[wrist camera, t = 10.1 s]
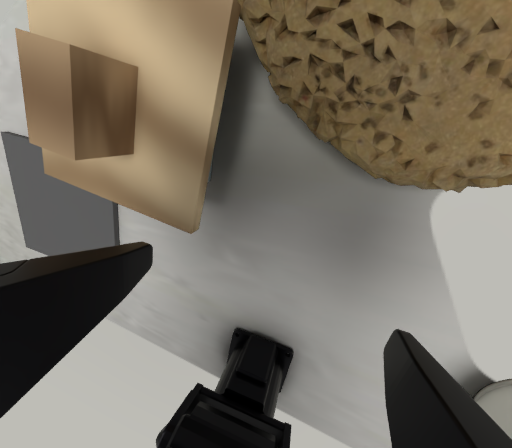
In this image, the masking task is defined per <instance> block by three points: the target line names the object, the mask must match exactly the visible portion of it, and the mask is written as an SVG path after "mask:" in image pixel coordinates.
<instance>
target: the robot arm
mask: <svg viewBox="0 0 512 448" xmlns="http://www.w3.org/2000/svg"><path fill="white" fill-rule="evenodd" d="M152 261H153V247H152V245H150V244H148V243H145V242H136V243H130V244H124V245H117V246H111V247H104V248H98V249H92V250H85V251H79V252H73V253H66V254H60V255H54V256H47V257H41V258H35V259H30V260H22V261H15V262H9V263H2V264H0V418H1V417H2V416H3V415H4V414H5V413H6V412H8V410H10V408H12V407H13V406H14V405H15V404H16V403H17V402H18V401H19V400H20V399H21V398H22V397H23V396H24V395H25V394H26V393H27V392H28V391H29V390H30V389H31V388H32V387H33V386H34V385H35V384H36V383H38V382H39V381H40V379H42V378H43V376H45V374H47V373H48V372H49V371H50V370H51V369H52V368H53V367H54V366H55V365H56V364H57V363H58V362H59V361H60V360H61V359H62V358H63V357H64V356H65V355H66V354H68V353H69V352H70V351H71V350H72V349H73V348H74V347H75V346H76V345H77V344H78V343H79V342H80V341H81V340H82V339H83V338H84V337H85V336H86V335H87V334H88V333H89V332H90V331H91V330H92V329H93V328H94V327H95V326H96V325H98V323H100V322H101V321H102V320H103V319H104V318H105V317H106V316H107V315H108V314H109V313H110V312H111V311H112V310H113V309H114V308H115V307H116V306H117V305H118V304H119V303H120V302H121V301H122V300H123V299H124V298H125V297H126V296H127V295H128V294H129V293H130V292H131V290H132V289H133V288H134V287H135V286H136V285H137V283H138V282H139V281H140V280H141V279H142V277H143V276H144V275H145V274H146V273H147V272H148V270H149V269H150V268H151V266H152ZM288 353H289V354H288ZM292 358H293V350H292V349H290V348H287V347H285V346H282V345H280V344H277V343H275V342H272V341H269V340H267V339H264V338H262V337H259V336H257V335H254V334H252V333H249V332H246V331H244V330H241V329H238V328H237V329H235V330H234V332H233V335H232V340H231V345H230V350H229V355H228V361H227V365H226V368H225V370H224V372H223V374H222V376H221V378H220V381H219V383H218V385H217V387H216V389H215V391H212V390H210V389H208V388H206V387H203V385H202V384H199V383H197V385H196V386H195V388H194V389H193V390H191V391H190V393H189V394H188V395H187V397H186V398H185V400H184V401H183V403H182V404H181V406H180V407H179V408H178V410H177V411H176V413H175V414H174V416H173V417H172V419H171V420H170V422H169V423H168V424H167V425H166V426H165V427H164V428H163V429H162V430H161V432H160V433H159V434H158V436H157V439H156V446H157V448H290V436H291V425H290V424H288V423H286V422H285V423H283V422H280V421H278V420H276V419H274V418H273V417H274V413H275V408H276V403H277V398H278V394H279V393H280V392H281V389H282V386H283V383H284V380H285V378H286V375H287V372H288V369H289V366H290V363H291V361H292ZM384 378H385V399H386V409H387V416H388V422H389V429H390V436H391V442H392V448H512V439H511V438H510V437H509V436H508V435H507V434H506V433H505V432H504V431H503V430H502V429H501V428H500V427H499V425H498V424H497V423H496V422H495V421H494V420H493V419H492V418H491V417H490V416H489V415H488V414H487V413H486V412H485V411H484V410H483V409H482V408H481V407H480V406H479V405H478V404H477V402H476V401H475V400H474V399H473V398H472V397H471V396H470V395H469V394H468V393H467V392H466V391H465V390H464V389H463V388H462V387H461V386H460V385H459V384H458V383H457V382H456V381H455V379H454V378H453V377H452V376H451V375H450V374H449V373H448V372H447V371H446V370H445V369H444V368H443V367H442V366H441V365H440V364H439V363H438V362H437V361H436V360H435V359H434V358H433V357H432V355H431V354H430V353H429V352H428V351H427V350H426V349H425V348H424V347H423V346H422V345H421V344H420V343H419V342H418V341H417V340H416V339H415V338H414V337H413V336H412V335H411V334H410V333H408V332H405V331H402V330H399V329H396V330H394V331H393V333H392V335H391V337H390V338H389V340H388V342H387V344H386V345H385V348H384Z"/></svg>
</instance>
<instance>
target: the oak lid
mask: <svg viewBox="0 0 512 448" xmlns="http://www.w3.org/2000/svg"><path fill="white" fill-rule="evenodd" d="M240 9H241V5H240V4H239V3H238V1H237V0H27V10H28V19H29V29H30V32H27V31H23V30H20V29H17V28H15V30H16V38H17V46H18V54H19V62H20V70H21V78H22V86H23V94H24V102H25V110H26V118H27V127H28V135H29V143H32V144H34V145H37V146H39V147H42V154H43V163H44V173H45V174H47V175H50V176H52V177H54V178H57V179H59V180H62V181H64V182H67V183H69V184H71V185H74V186H76V187H79V188H81V189H84V190H86V191H88V192H91V193H93V194H96V195H98V196H100V197H103V198H105V199H108V200H110V201H113V202H115V203H117V204H120V205H122V206H125V207H127V208H130V209H132V210H134V211H137V212H139V213H142V214H144V215H146V216H149V217H151V218H154V219H156V220H159V221H161V222H163V223H166V224H168V225H171V226H173V227H176V228H178V229H180V230H183V231H185V232H188V233H190V234H192V233H193V232H195V231H196V230H198V229H199V224H200V219H201V214H202V208H203V203H204V198H205V193H206V187H207V182H208V177H209V172H210V167H211V161H212V156H213V151H214V146H215V140H216V135H217V130H218V125H219V119H220V114H221V109H222V104H223V98H224V93H225V88H226V83H227V78H228V72H229V67H230V62H231V57H232V51H233V46H234V41H235V36H236V30H237V25H238V20H239V15H240Z"/></svg>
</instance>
